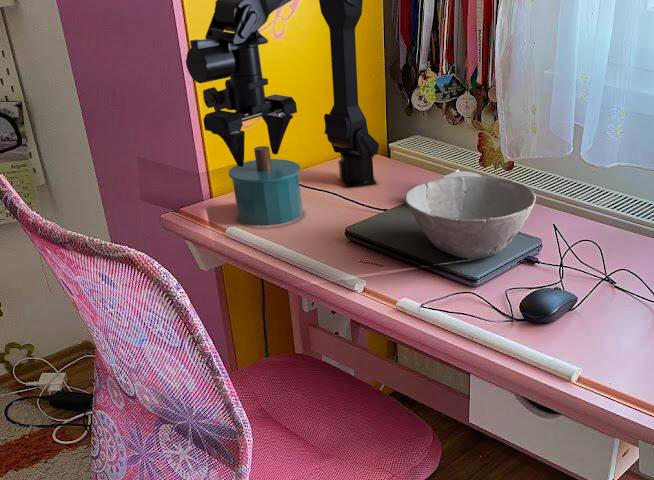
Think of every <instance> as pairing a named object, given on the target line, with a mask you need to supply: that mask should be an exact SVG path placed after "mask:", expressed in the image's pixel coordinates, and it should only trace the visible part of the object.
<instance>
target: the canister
mask: <svg viewBox="0 0 654 480" xmlns="http://www.w3.org/2000/svg"><path fill="white" fill-rule="evenodd" d="M231 180H232V186H233V187H232V188H233V193H234V198H235V199H234V200H235V205H236V210H237V211H236V212H237V217H238V219H239V221H241V222H242V223H244V224H247V225H253V226H269V227H270V226H277V225H284V224H285V223H291V222H293V221H295V220H297V219H298V218H301V216H302V214H303V213H304V211H303V204H302V196H301V186H300V179H299V173H298V174H297V175H295V176H293V177H291V178H288V179H285V180H281V181H276V182H268V183H246V182H240V181H236V180H234V179H232V178H231Z"/></svg>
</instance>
